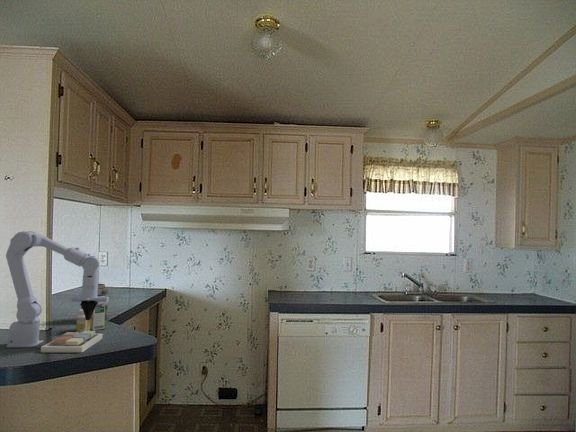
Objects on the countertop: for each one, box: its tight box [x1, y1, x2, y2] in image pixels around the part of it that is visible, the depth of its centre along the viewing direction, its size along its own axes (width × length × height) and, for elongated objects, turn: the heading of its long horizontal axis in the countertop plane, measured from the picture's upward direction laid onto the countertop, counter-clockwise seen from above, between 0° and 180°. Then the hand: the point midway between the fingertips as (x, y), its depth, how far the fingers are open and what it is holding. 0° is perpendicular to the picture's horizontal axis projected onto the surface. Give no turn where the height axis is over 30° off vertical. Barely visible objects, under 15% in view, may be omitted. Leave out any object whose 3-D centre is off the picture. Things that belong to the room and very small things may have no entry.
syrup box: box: [90, 295, 108, 331], centre depth 175 cm, size 6×6×14 cm
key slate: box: [73, 334, 90, 341], centre depth 149 cm, size 4×4×2 cm
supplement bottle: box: [75, 308, 91, 333], centre depth 169 cm, size 5×5×10 cm
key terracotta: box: [53, 335, 72, 343], centre depth 146 cm, size 4×4×2 cm
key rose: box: [61, 331, 79, 338], centre depth 152 cm, size 4×4×2 cm
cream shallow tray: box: [40, 333, 104, 354], centre depth 149 cm, size 14×19×2 cm
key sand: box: [66, 338, 83, 345], centre depth 144 cm, size 4×4×2 cm
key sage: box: [80, 330, 96, 337], centre depth 155 cm, size 4×4×2 cm
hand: (88, 319), depth 155 cm, fingers closed
